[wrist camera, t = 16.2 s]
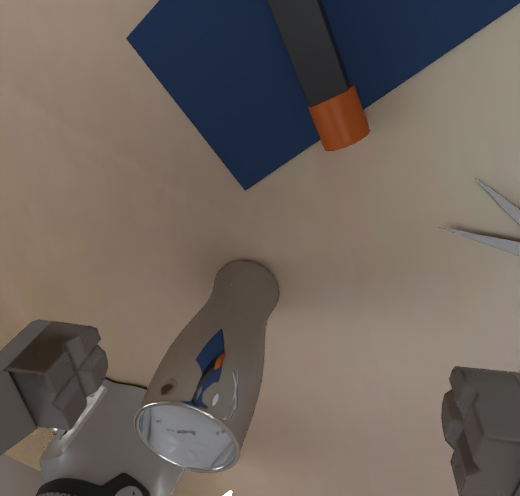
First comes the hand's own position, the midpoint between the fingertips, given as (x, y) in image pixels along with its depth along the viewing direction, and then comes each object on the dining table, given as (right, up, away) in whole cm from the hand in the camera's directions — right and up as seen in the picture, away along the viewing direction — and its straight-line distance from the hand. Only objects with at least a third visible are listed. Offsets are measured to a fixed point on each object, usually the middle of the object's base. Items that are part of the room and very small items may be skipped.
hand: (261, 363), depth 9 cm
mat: (+3, +17, +15) cm, 22 cm away
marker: (+3, +16, +14) cm, 22 cm away
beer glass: (-1, -1, +26) cm, 26 cm away
